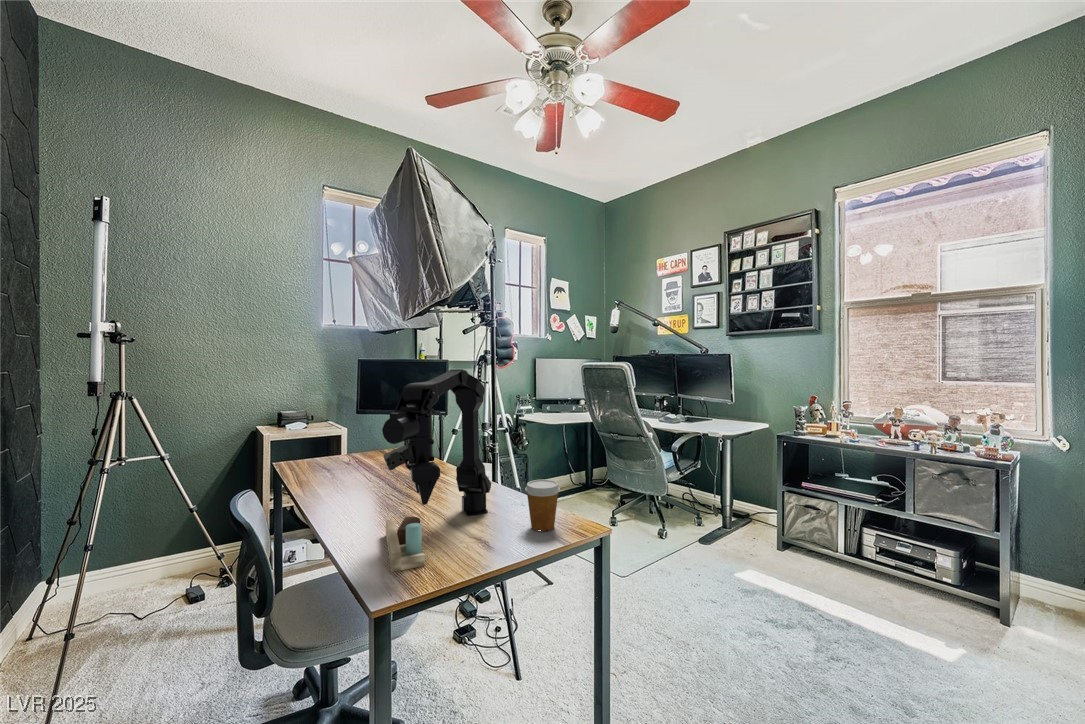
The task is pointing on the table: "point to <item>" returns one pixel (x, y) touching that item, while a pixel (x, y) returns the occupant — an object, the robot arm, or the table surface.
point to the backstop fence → (400, 551)
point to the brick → (402, 529)
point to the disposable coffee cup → (542, 503)
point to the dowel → (413, 539)
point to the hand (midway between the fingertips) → (421, 498)
